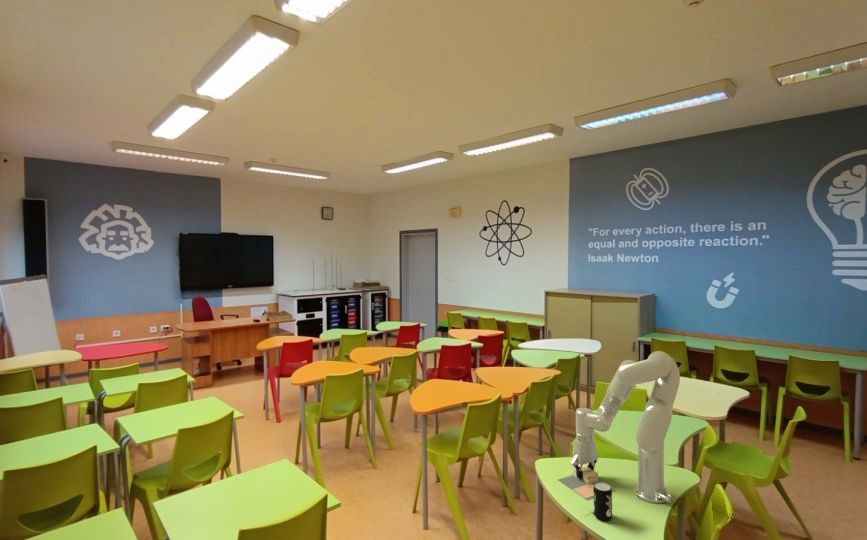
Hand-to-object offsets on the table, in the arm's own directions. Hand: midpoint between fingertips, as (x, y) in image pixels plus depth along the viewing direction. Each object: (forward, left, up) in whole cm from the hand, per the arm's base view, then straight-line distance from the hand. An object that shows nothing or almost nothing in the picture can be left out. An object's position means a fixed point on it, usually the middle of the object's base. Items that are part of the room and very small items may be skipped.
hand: (585, 476), depth 191 cm
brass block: (0, 0, -1) cm, 1 cm away
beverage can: (-24, +14, -2) cm, 27 cm away
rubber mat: (-5, +4, -1) cm, 6 cm away
